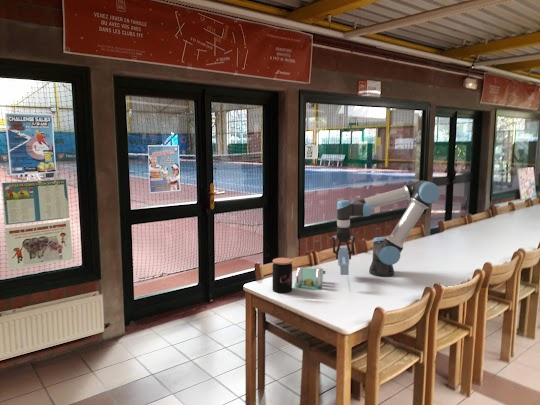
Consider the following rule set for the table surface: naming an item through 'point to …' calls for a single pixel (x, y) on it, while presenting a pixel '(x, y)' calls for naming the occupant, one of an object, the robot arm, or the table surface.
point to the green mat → (309, 274)
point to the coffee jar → (282, 275)
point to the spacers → (300, 277)
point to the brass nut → (308, 282)
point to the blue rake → (343, 260)
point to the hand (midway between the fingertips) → (343, 264)
